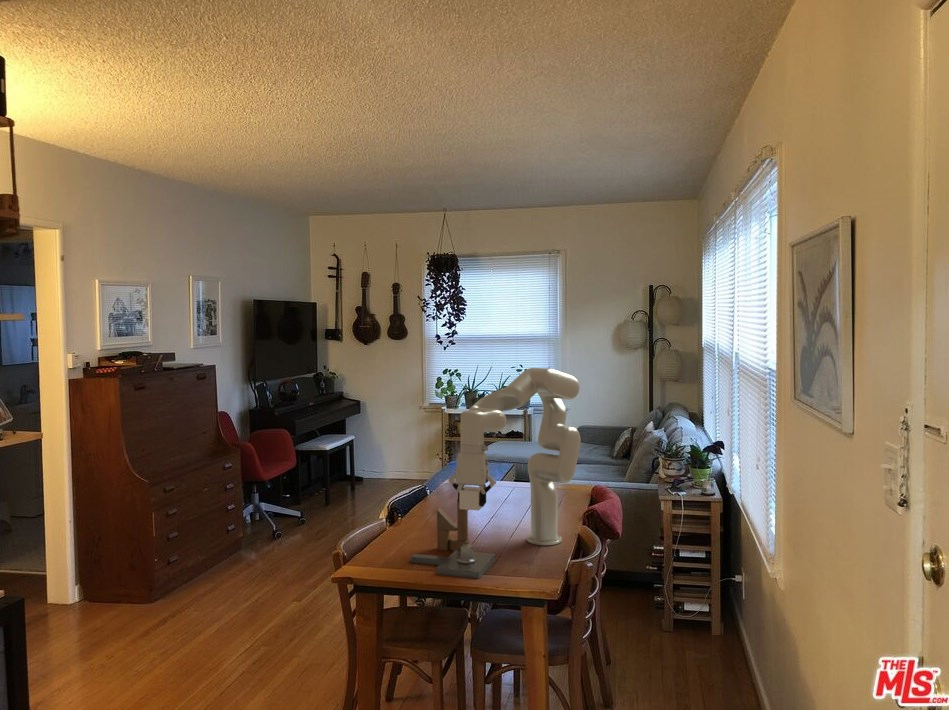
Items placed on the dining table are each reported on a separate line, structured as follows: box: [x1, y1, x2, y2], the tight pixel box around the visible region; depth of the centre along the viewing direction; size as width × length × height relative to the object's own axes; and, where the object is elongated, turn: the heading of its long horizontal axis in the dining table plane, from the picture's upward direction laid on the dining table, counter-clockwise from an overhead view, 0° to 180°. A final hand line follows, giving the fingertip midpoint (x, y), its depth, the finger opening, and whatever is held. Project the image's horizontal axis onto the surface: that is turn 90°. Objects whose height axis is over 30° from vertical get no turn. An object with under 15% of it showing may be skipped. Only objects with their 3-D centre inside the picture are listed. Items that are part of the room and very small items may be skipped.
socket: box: [459, 485, 485, 511], centre depth 220 cm, size 6×6×6 cm
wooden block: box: [436, 498, 470, 552], centre depth 238 cm, size 4×11×18 cm, turn 76°
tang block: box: [410, 544, 497, 580], centre depth 223 cm, size 18×26×7 cm
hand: (472, 504), depth 220 cm, fingers closed on socket, 6 cm apart
